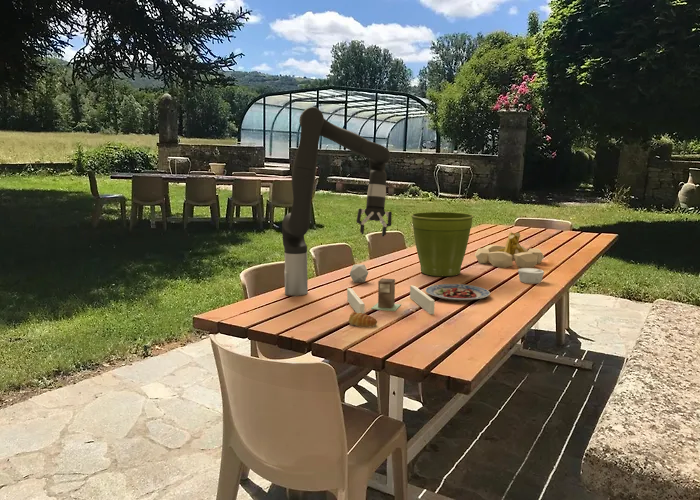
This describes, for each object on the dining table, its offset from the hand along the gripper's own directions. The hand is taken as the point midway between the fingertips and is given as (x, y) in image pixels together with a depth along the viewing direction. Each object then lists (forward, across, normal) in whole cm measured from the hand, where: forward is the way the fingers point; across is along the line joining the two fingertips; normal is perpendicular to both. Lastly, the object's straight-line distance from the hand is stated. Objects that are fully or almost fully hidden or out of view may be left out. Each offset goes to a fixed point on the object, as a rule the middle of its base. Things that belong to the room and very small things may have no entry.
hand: (372, 235), depth 224 cm
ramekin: (+14, +76, +17) cm, 80 cm away
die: (+21, -2, +23) cm, 31 cm away
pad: (+27, +5, -21) cm, 35 cm away
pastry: (+31, -6, -41) cm, 52 cm away
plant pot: (+15, +40, +38) cm, 57 cm away
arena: (+27, +6, -21) cm, 35 cm away
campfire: (+7, +83, +64) cm, 105 cm away
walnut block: (+26, +5, -21) cm, 34 cm away
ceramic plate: (+22, +36, -6) cm, 43 cm away
